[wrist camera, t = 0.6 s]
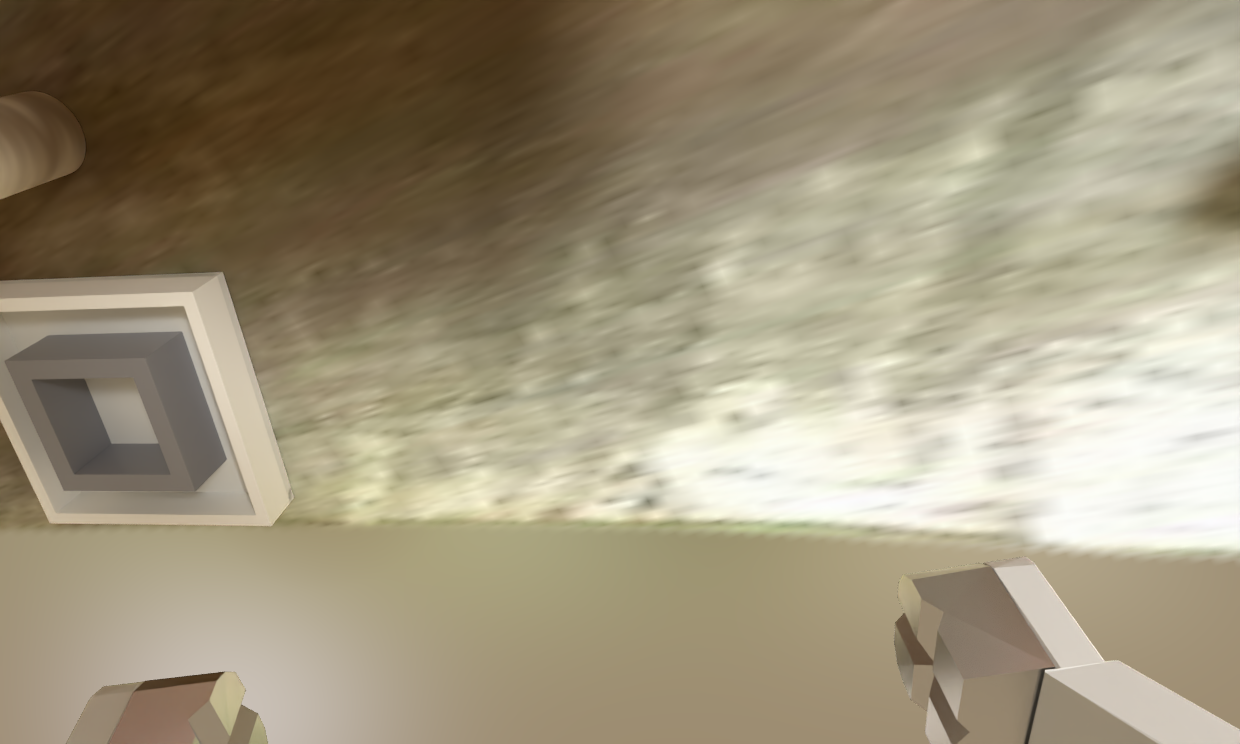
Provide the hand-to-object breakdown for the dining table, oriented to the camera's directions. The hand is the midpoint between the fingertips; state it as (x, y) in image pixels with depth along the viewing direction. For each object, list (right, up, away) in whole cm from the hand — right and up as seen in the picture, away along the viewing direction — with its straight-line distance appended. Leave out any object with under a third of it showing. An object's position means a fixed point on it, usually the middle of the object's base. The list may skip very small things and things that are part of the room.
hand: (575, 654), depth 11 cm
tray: (-29, +2, +43) cm, 52 cm away
